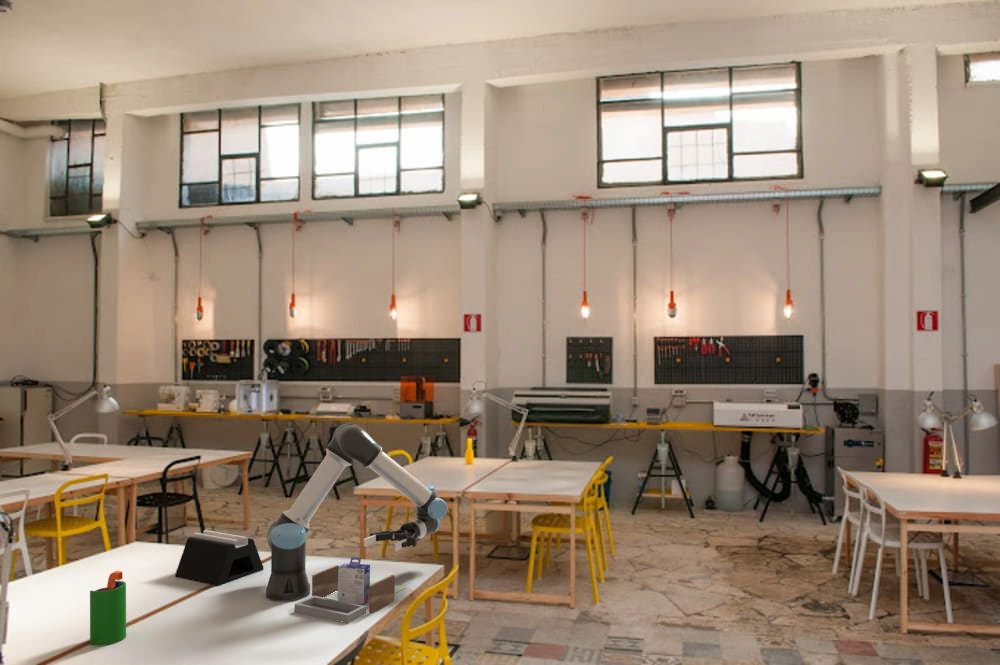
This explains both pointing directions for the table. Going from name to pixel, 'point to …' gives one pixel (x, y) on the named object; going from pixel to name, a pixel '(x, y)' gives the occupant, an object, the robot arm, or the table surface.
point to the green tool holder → (108, 612)
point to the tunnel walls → (378, 591)
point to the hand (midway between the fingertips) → (379, 545)
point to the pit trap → (330, 609)
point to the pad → (397, 588)
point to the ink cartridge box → (354, 582)
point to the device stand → (218, 558)
